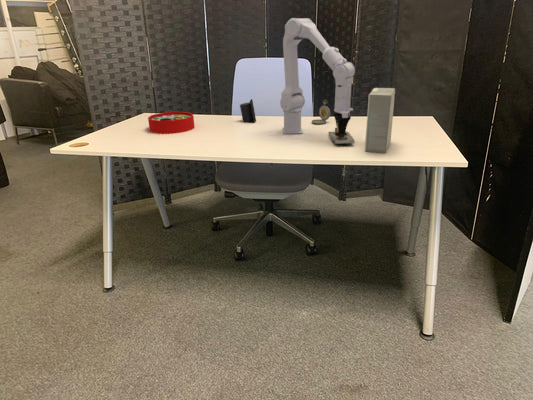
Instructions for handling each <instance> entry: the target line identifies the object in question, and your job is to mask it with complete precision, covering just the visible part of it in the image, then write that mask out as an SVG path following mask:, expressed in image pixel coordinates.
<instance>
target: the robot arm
mask: <svg viewBox="0 0 533 400" xmlns="http://www.w3.org/2000/svg"><path fill="white" fill-rule="evenodd" d="M303 39H308V40H309V41H310V42H312V43H313V45H314V46H315V47H316V48H317V49H318V50H319V51H320V52H321V53H322V55H321V56H322V60H323V61H324V62H325V63H326V64H327V66H328V67H329V68H330V69H331V70H332V75H333V78H334V81H335V82H334V83H335V90H334V91H335V95H334V109H333V111H334V113H333V114H332V115H333V117H334V119H335V125H336V127H337V123H338V132H339V134H345V131H346V130H347V128H348V124H349V121H350V120H351V119H352V117H351V116H350V115H349V113H350V112H353V111H354V108H352V107H351V97H352V96H351V95H352V83H353V82H352V79H353V77H354V75H355V74H356V68H355V66H354V64H353V62H350V61H348V60H347V59H346V58H344V57H343V55H342V54H341V53H340V52H339V51H340V50H339V48H338V47H335V46H330V45H329V43H328V42H327V41H326V39H325V38H324V37H323V36H322V33H320V31H319V30H318V28H317V26H316V24H315V23H314V22H313V21H312V20H311V18H308V17H306V18H305V17H304V18H296V17H292V18H290V19H289V20H288V21H287V22H286V24H285V25H284V34H283V39H282V49H283V50H282V51H283V65H284V66H283V67H284V84H285V86H284V89H283V90H282V91H281V97H280V100H279V101H280V102H279V104H280V105H279V106H280V108H281V109H282V112H283V127H282V133H283V135H284V134H285V135H286V134H288V135H290V134H291V135H292V134H293V135H294V134H295V135H296V134H303V129H302V110H303V107H304V106H305V102H306V98H305V95H304V92H303V89H302V88H301V87H300V83H299V82H300V81H299V62H298V61H299V58H298V45H299V44H300V42H302V40H303ZM346 132H347V131H346Z"/></svg>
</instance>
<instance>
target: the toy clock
mask: <svg viewBox="0 0 533 400" xmlns="http://www.w3.org/2000/svg"><path fill="white" fill-rule="evenodd" d="M194 119H195V118H194V114H193V113H191V112H189V111H188V112H186V111H168V112H159V113H155V114H151V115H149V116H148V117H147V123H148V127H149V128H148V129H149V132H150V133H153V134H158V135H159V134H160V135H170V134H172V135H174V134H181V133H185V132H188V131H189V132H190V131H193V130H194V129H195V120H194Z"/></svg>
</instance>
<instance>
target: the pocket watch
mask: <svg viewBox="0 0 533 400" xmlns="http://www.w3.org/2000/svg"><path fill="white" fill-rule="evenodd" d="M322 103H323V105H322V106H320V107H319V111H318V115H319V118H320V119H312V120H311V123H312V124H315V125H324V124H326V122H327V121H328V119H330V117H331V110H330V108H329V107H328V106H327V105H326V104H327V99H324V100H323V101H322Z"/></svg>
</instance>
